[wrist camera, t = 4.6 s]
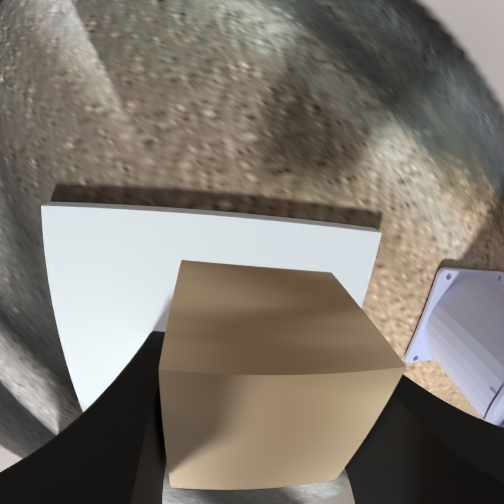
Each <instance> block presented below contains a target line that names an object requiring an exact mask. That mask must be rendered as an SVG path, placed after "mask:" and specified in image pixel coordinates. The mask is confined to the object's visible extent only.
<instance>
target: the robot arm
mask: <svg viewBox="0 0 504 504" xmlns="http://www.w3.org/2000/svg"><path fill="white" fill-rule="evenodd" d="M164 337H165V332H160V331H152V332H151V333H150V334H149V335H148V337H147V338H146V340H145V341H144V343H143V344H142V346H141V347H140V348H139V350H138V351H137V352H136V354H135V355H134V356H133V358H132V359H131V360H130V362H129V363H128V364H127V365H126V366H125V368H124V369H123V370H122V371H121V372H120V374H119V375H118V376H117V377H116V379H115V380H114V381H113V382H112V383H111V384H110V385H109V386H108V387H107V389H106V390H105V391H104V392H103V393H102V394H101V395H100V396H99V397H98V398H97V399H96V400H95V401H94V402H93V403H92V404H91V405H90V406H89V407H88V408H87V409H86V410H85V411H84V412H83V413H82V414H81V415H80V416H79V417H78V418H77V419H75V420H74V421H73V422H72V423H71V424H70V425H69V426H68V427H66V428H65V429H64V430H63V431H61V432H60V433H59V434H58V435H56V436H55V437H54V438H52V439H51V440H50V441H49V442H47V443H46V444H45V445H43V446H42V447H40V448H39V449H38V450H36V451H35V452H33V453H32V454H30V455H29V456H27V457H25V458H24V459H22V460H20V461H19V462H17V463H15V464H14V465H12V466H10V467H9V468H7V469H5V470H4V471H2V472H0V504H162V491H163V480H164V474H165V467H166V460H167V458H166V450H165V441H164V432H163V422H162V412H161V399H160V385H159V363H160V358H161V353H162V347H163V342H164ZM433 359H434V360H435V361H436V362H437V364H438V365H439V366H440V367H441V368H442V369H443V371H444V372H445V373H446V374H447V375H448V377H449V378H450V379H451V380H452V381H453V383H454V384H455V385H456V386H457V387H458V389H459V390H460V391H461V392H462V393H463V395H464V396H465V397H466V398H467V400H468V401H469V402H470V403H471V405H472V406H473V407H474V408H475V410H476V411H477V412H478V413H479V415H480V416H481V417H482V419H483V420H481V419H479V418H476V417H474V416H472V415H470V414H467V413H465V412H463V411H462V410H460V409H458V408H456V407H454V406H452V405H450V404H448V403H446V402H445V401H443V400H441V399H439V398H438V397H436V396H435V395H433V394H431V393H430V392H428V391H427V390H425V389H424V388H422V387H421V386H419V385H418V384H416V383H415V382H413V381H412V380H410V379H409V378H408V377H406V376H405V375H403V374H402V376H401V378H400V380H399V382H398V384H397V386H396V387H395V389H394V391H393V393H392V395H391V397H390V398H389V400H388V402H387V404H386V405H385V407H384V409H383V410H382V412H381V414H380V415H379V417H378V419H377V420H376V422H375V423H374V425H373V427H372V428H371V430H370V431H369V433H368V434H367V436H366V438H365V439H364V441H363V442H362V444H361V445H360V446H359V448H358V449H357V451H356V452H355V454H354V455H353V457H352V458H351V459H350V461H349V462H348V463H347V465H346V466H345V470H346V472H347V475H348V478H349V481H350V484H351V488H352V492H353V496H354V500H355V504H504V272H501V271H487V270H473V269H459V268H445V267H443V268H441V269H439V271H438V272H437V275H436V278H435V281H434V284H433V287H432V290H431V292H430V295H429V298H428V301H427V303H426V306H425V309H424V311H423V314H422V317H421V319H420V322H419V324H418V327H417V329H416V331H415V334H414V336H413V339H412V341H411V343H410V345H409V348H408V350H407V352H406V354H405V357H404V361H405V362H406V363H415V362H421V361H428V360H433Z"/></svg>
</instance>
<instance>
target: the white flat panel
mask: <svg viewBox="0 0 504 504" xmlns="http://www.w3.org/2000/svg"><path fill="white" fill-rule="evenodd" d="M41 211H42V228H43V240H44V250H45V258H46V266H47V273H48V280H49V286H50V292H51V298H52V303H53V308H54V313H55V318H56V323H57V327H58V332H59V336H60V340H61V344H62V348H63V351H64V355H65V359H66V362H67V366H68V369H69V373H70V376H71V379H72V382H73V385H74V388H75V391H76V394H77V397H78V400H79V403H80V406H81V408H82V411H83V412H84V411H85V410H86V409H87V408H88V407H89V406H90V405H91V404H92V403H93V402H94V401H95V400H96V399H97V398H98V397H99V396H100V395H101V394H102V393H103V392H104V391H105V390H106V389H107V387H108V386H109V385H110V384H111V383H112V382H113V381H114V380H115V379H116V377H117V376H118V375H119V374H120V372H121V371H122V370H123V369H124V368H125V366H126V365H127V364H128V363H129V362H130V360H131V359H132V358H133V356H134V355H135V354H136V352H137V351H138V350H139V348H140V347H141V346H142V344H143V343H144V341H145V340H146V338H147V337H148V335H149V334H150V333H151V332H152V331H160V332H166V327H167V322H168V317H169V312H170V308H171V303H172V298H173V294H174V289H175V285H176V280H177V276H178V272H179V267H180V263H181V260H189V261H200V262H211V263H223V264H234V265H246V266H258V267H270V268H282V269H295V270H307V271H320V272H332V273H333V275H334V276H335V277H336V278H337V279H338V281H339V282H340V283H341V284H342V286H343V287H344V288H345V289H346V290H347V292H348V293H349V294H350V295H351V297H352V298H353V299H354V300H355V301H356V303H357V304H358V305H359V306H360V308H361V307H362V304H363V301H364V297H365V294H366V291H367V287H368V284H369V280H370V277H371V273H372V270H373V266H374V262H375V258H376V254H377V251H378V247H379V242H380V238H381V234H382V233H381V232H380V231H378V230H376V229H375V228H373V227H365V226H357V225H349V224H341V223H332V222H324V221H315V220H306V219H297V218H287V217H277V216H267V215H257V214H246V213H235V212H223V211H211V210H199V209H186V208H171V207H157V206H140V205H123V204H103V203H79V202H48V203H46V204H44V205H42V206H41Z"/></svg>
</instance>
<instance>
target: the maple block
mask: <svg viewBox="0 0 504 504" xmlns="http://www.w3.org/2000/svg"><path fill="white" fill-rule="evenodd" d="M405 368H406V365H405V364H404V363H403V361H402V360H401V359H400V357H399V356H398V355H397V354H396V352H395V351H394V350H393V348H392V347H391V346H390V344H389V343H388V342H387V341H386V339H385V338H384V337H383V335H382V334H381V333H380V332H379V330H378V329H377V328H376V326H375V325H374V324H373V323H372V321H371V320H370V319H369V318H368V316H367V315H366V314H365V313H364V311H363V310H362V309H361V308H360V306H359V305H358V304H357V303H356V301H355V300H354V299H353V298H352V297H351V295H350V294H349V293H348V292H347V290H346V289H345V288H344V287H343V286H342V284H341V283H340V282H339V281H338V279H337V278H336V277H335V276H334V275H333V273H332V272H320V271H307V270H295V269H282V268H270V267H258V266H246V265H234V264H223V263H211V262H200V261H189V260H181V263H180V267H179V272H178V276H177V280H176V285H175V289H174V294H173V298H172V303H171V308H170V312H169V317H168V322H167V327H166V332H165V337H164V342H163V347H162V353H161V358H160V363H159V385H160V399H161V412H162V422H163V432H164V441H165V450H166V458H167V465H168V472H169V479H170V486H171V487H176V488H190V489H216V490H236V489H262V488H276V487H287V486H296V485H304V484H311V483H318V482H324V481H330V480H335V479H336V478H337V477H338V476H339V474H340V473H341V472H342V470H343V469H344V468H345V466H346V465H347V463H348V462H349V461H350V459H351V458H352V457H353V455H354V454H355V452H356V451H357V449H358V448H359V446H360V445H361V444H362V442H363V441H364V439H365V438H366V436H367V434H368V433H369V431H370V430H371V428H372V427H373V425H374V423H375V422H376V420H377V419H378V417H379V415H380V414H381V412H382V410H383V409H384V407H385V405H386V404H387V402H388V400H389V398H390V397H391V395H392V393H393V391H394V389H395V387H396V386H397V384H398V382H399V380H400V378H401V376H402V374H403V372H404V370H405Z"/></svg>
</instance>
